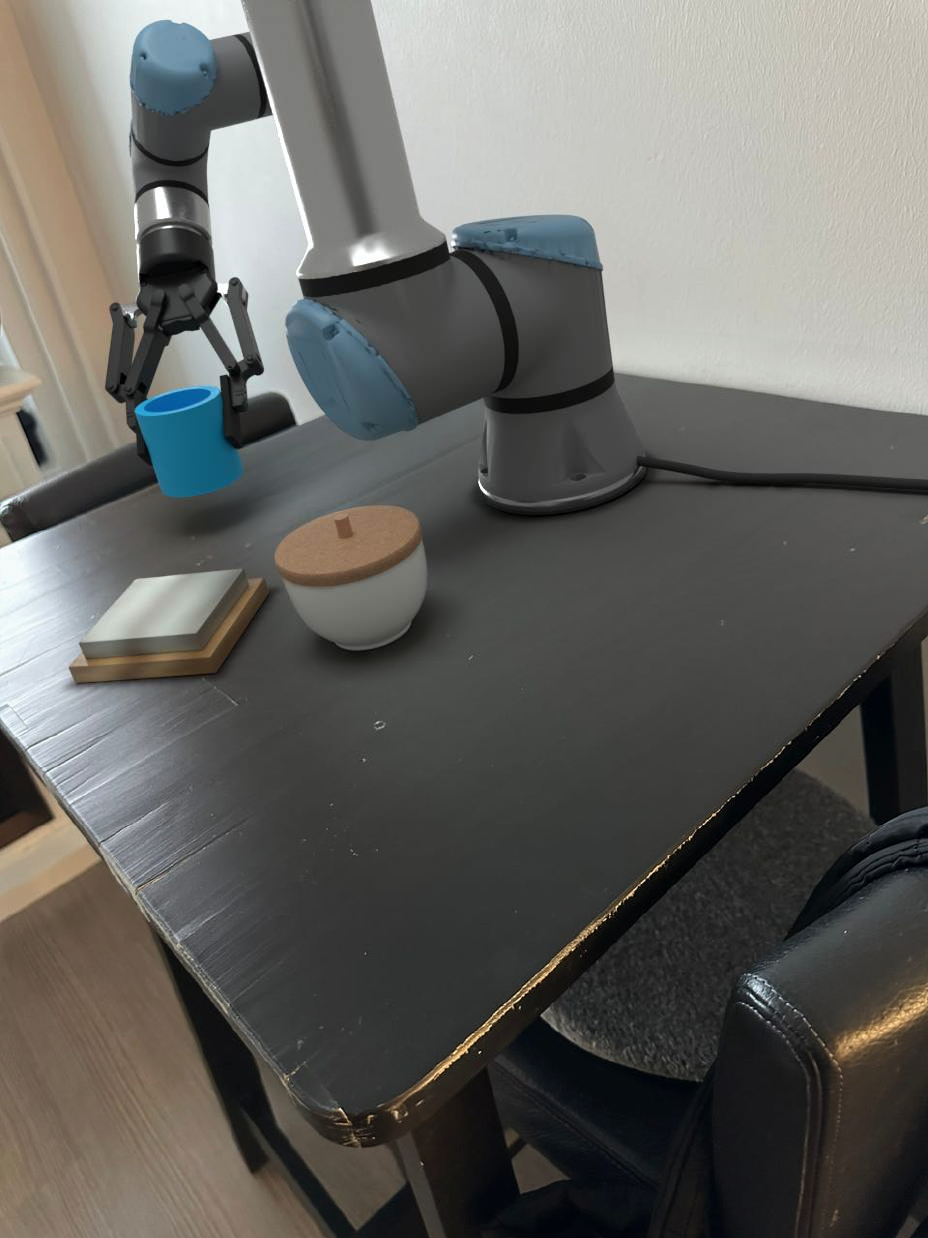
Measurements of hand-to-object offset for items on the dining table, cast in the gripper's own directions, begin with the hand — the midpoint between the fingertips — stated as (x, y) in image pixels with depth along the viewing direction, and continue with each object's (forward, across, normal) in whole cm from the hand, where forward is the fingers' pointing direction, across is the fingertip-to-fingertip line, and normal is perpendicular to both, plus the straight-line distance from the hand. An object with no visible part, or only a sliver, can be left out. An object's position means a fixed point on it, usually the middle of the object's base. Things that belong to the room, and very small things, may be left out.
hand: (190, 450), depth 98 cm
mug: (0, 0, -5) cm, 5 cm away
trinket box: (+24, -18, +13) cm, 33 cm away
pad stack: (+21, -2, +10) cm, 23 cm away
